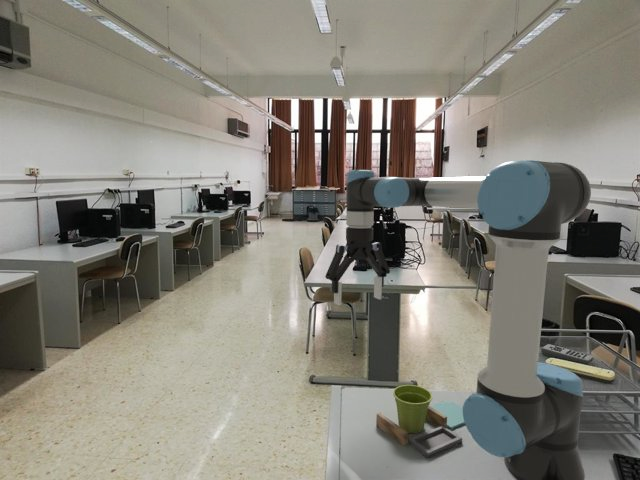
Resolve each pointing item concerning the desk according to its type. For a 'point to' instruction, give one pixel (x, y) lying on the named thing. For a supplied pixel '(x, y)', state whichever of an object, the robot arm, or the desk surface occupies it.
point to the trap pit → (435, 441)
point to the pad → (450, 413)
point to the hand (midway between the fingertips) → (358, 301)
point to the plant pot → (412, 407)
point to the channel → (401, 433)
